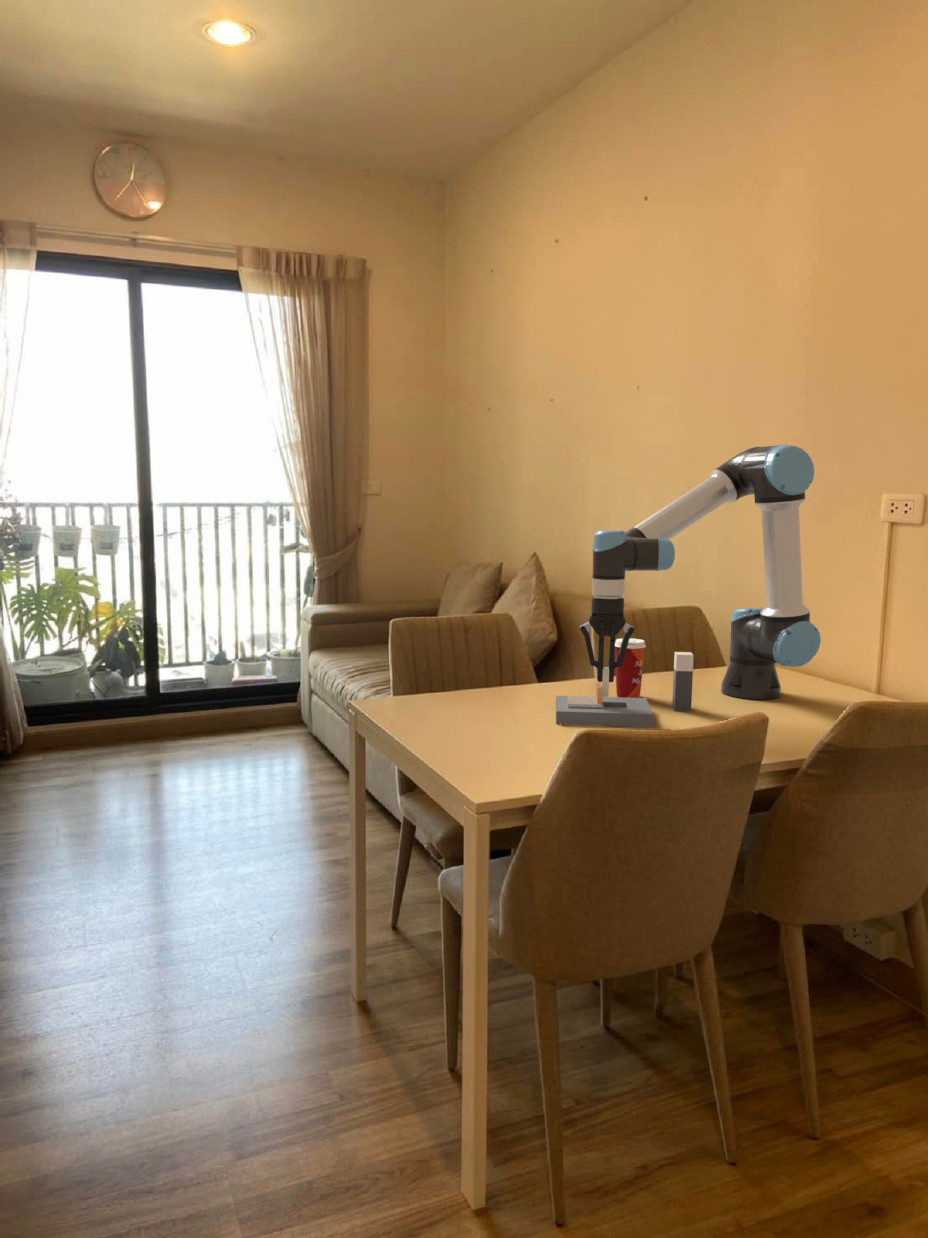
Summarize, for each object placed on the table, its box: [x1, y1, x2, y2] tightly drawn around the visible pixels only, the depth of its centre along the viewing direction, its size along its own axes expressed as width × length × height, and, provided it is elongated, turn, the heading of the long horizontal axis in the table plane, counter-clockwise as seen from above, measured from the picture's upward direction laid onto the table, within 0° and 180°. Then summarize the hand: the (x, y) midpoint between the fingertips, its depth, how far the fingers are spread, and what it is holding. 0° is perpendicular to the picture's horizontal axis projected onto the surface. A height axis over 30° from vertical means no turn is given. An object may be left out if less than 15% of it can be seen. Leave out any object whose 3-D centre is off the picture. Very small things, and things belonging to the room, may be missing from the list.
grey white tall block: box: [671, 651, 695, 712], centre depth 219 cm, size 4×4×14 cm
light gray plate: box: [566, 682, 603, 708], centre depth 212 cm, size 8×8×4 cm
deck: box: [555, 695, 654, 728], centre depth 212 cm, size 22×16×3 cm
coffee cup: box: [615, 637, 647, 698], centre depth 232 cm, size 8×8×15 cm
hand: (604, 695), depth 211 cm, fingers closed
